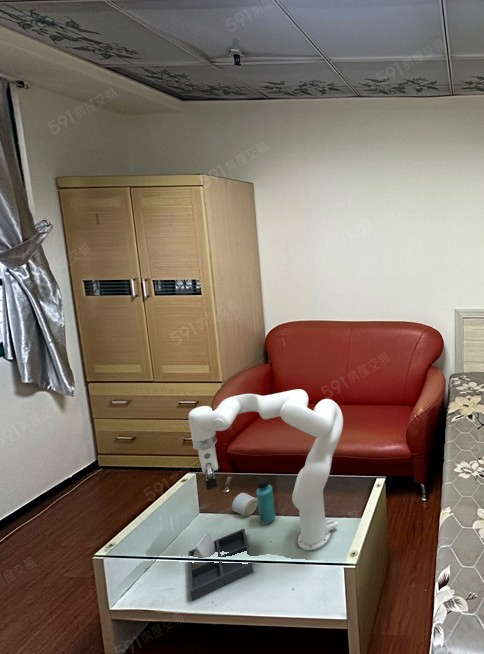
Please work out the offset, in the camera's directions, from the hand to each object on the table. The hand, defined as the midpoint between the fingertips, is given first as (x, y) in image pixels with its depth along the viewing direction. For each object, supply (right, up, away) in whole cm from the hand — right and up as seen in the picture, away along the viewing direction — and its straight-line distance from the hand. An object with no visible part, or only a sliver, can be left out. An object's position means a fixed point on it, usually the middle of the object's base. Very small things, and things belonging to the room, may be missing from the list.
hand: (211, 480), depth 153 cm
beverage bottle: (+12, -28, +22) cm, 38 cm away
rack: (+3, -33, +1) cm, 33 cm away
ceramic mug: (0, -27, +28) cm, 39 cm away
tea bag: (-3, -32, +2) cm, 32 cm away
